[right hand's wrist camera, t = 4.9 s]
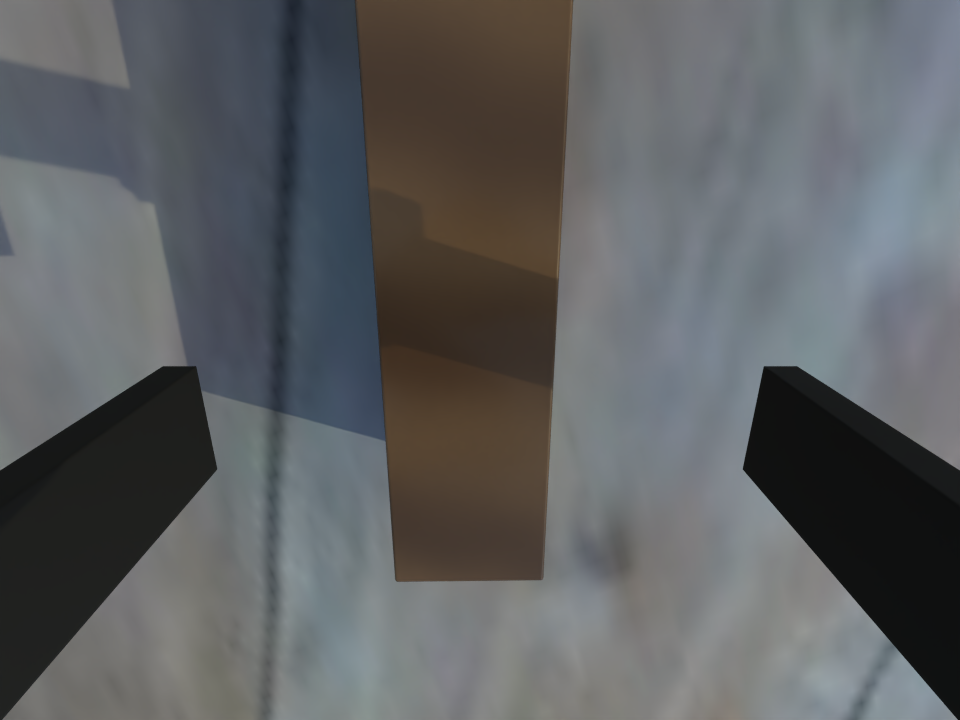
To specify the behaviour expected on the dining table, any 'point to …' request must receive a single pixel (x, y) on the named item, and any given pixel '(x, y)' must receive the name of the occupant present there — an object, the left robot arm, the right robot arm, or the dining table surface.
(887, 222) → the dining table surface
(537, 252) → the post
